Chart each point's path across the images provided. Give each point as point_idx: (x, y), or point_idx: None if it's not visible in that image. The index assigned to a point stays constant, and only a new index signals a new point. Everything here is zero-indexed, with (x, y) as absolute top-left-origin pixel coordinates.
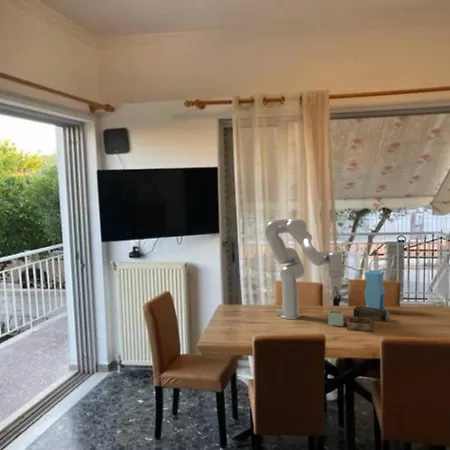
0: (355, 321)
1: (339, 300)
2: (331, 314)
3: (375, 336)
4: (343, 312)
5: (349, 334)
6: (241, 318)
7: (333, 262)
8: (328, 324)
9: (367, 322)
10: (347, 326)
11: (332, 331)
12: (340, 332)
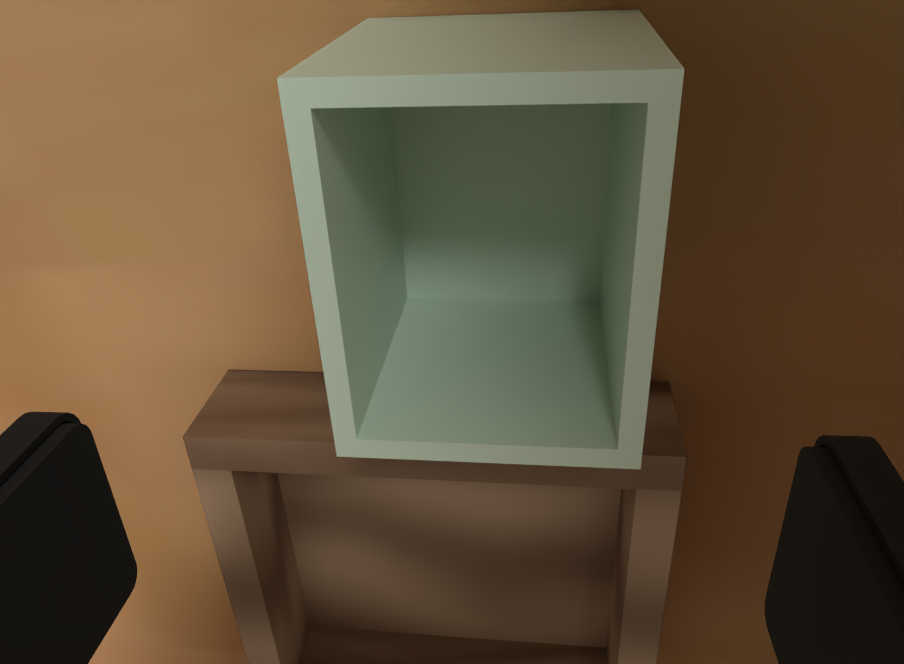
0: (624, 506)
1: (784, 648)
2: (302, 172)
3: (110, 641)
4: (583, 453)
5: (19, 402)
6: None
7: None
8: (362, 24)
9: (608, 636)
10: (206, 408)
11: (18, 148)
12: (39, 281)
